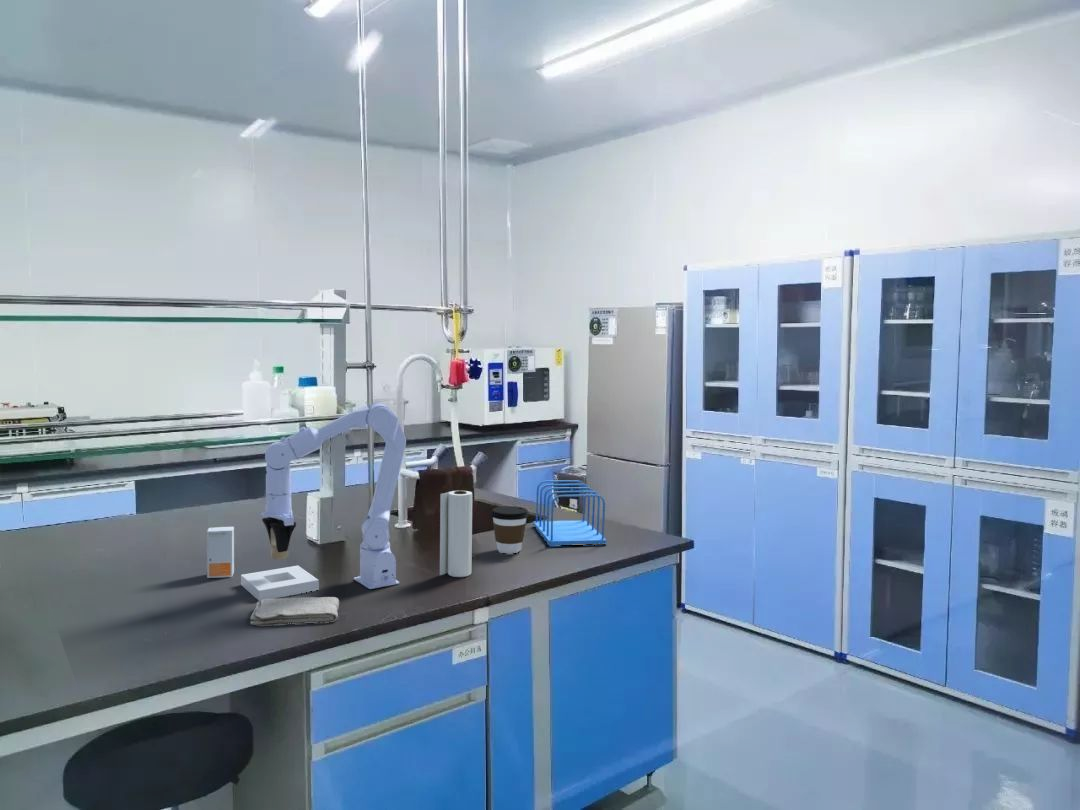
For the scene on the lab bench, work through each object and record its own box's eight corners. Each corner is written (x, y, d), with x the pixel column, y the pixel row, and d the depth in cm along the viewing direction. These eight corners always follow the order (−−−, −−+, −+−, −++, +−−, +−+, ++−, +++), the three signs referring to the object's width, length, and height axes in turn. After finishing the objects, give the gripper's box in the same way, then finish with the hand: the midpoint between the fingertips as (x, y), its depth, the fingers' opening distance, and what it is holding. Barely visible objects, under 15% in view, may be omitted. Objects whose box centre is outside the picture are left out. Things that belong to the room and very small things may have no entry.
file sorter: (606, 546, 233) (608, 494, 232) (548, 548, 230) (550, 496, 228) (585, 525, 257) (586, 478, 256) (532, 527, 254) (533, 479, 253)
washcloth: (257, 609, 176) (256, 596, 176) (340, 605, 180) (340, 592, 180) (248, 629, 165) (248, 614, 165) (337, 624, 168) (337, 610, 168)
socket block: (318, 590, 189) (318, 580, 188) (259, 601, 180) (259, 590, 180) (298, 575, 200) (298, 565, 199) (241, 584, 191) (240, 574, 191)
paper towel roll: (474, 572, 205) (475, 490, 203) (466, 578, 199) (467, 495, 197) (448, 569, 207) (449, 488, 205) (439, 576, 201) (440, 493, 199)
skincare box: (206, 579, 195) (205, 531, 194) (209, 573, 199) (208, 527, 198) (233, 577, 197) (232, 530, 196) (234, 572, 201) (234, 526, 200)
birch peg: (291, 557, 189) (291, 528, 188) (274, 560, 187) (274, 531, 186) (284, 553, 192) (284, 525, 192) (268, 556, 190) (268, 527, 189)
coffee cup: (515, 544, 232) (516, 504, 231) (535, 553, 223) (536, 511, 222) (483, 549, 227) (483, 508, 225) (502, 558, 217) (502, 516, 216)
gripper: (252, 489, 191) (252, 544, 193) (271, 500, 180) (272, 559, 181) (281, 486, 195) (281, 540, 197) (302, 497, 184) (302, 554, 185)
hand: (279, 549), depth 189 cm, fingers closed on birch peg, 4 cm apart
